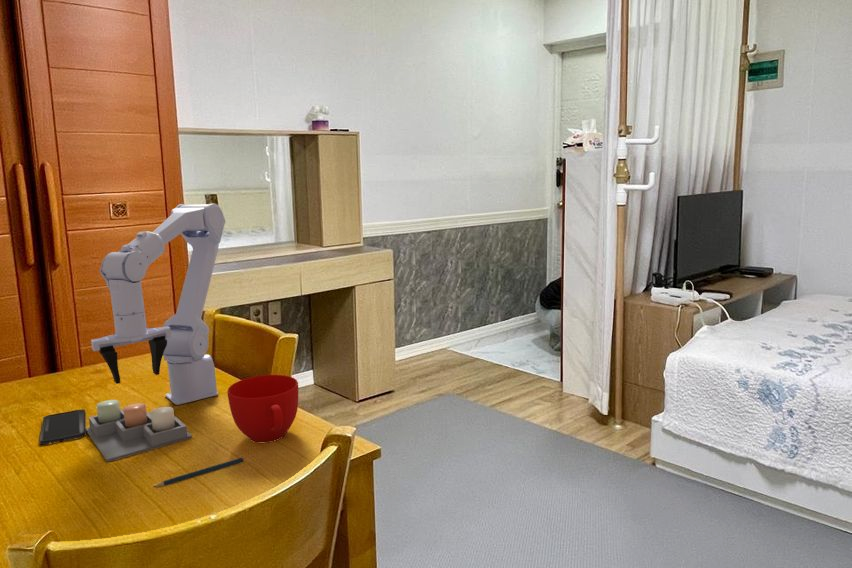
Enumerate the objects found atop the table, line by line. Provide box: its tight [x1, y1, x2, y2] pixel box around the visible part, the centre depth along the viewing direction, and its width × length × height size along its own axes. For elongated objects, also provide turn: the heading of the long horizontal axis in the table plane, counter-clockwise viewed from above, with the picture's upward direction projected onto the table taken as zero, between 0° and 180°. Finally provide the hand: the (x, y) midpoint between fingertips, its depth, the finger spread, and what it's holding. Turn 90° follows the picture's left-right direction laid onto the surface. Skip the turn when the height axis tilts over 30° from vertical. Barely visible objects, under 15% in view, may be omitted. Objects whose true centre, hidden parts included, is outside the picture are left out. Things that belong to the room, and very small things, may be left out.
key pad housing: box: [85, 408, 193, 463], centre depth 128 cm, size 15×18×3 cm
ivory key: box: [150, 406, 175, 431], centre depth 125 cm, size 4×4×3 cm
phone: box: [39, 408, 87, 445], centre depth 132 cm, size 8×1×15 cm
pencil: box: [153, 457, 244, 488], centre depth 111 cm, size 1×1×15 cm
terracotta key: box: [122, 402, 148, 427], centre depth 127 cm, size 4×4×3 cm
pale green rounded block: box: [96, 399, 121, 423], centre depth 129 cm, size 4×4×3 cm
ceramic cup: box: [226, 374, 299, 443], centre depth 122 cm, size 13×17×10 cm
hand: (137, 377), depth 132 cm, fingers open, 7 cm apart
